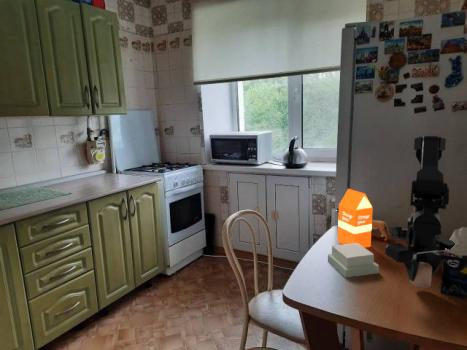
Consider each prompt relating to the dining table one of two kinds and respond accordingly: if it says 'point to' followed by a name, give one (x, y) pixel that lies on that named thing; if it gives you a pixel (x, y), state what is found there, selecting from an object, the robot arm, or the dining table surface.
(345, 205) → the orange juice
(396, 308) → the dining table surface
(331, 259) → the sage slab
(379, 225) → the lion figurine
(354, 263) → the cream slab
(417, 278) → the pale pink cylinder
